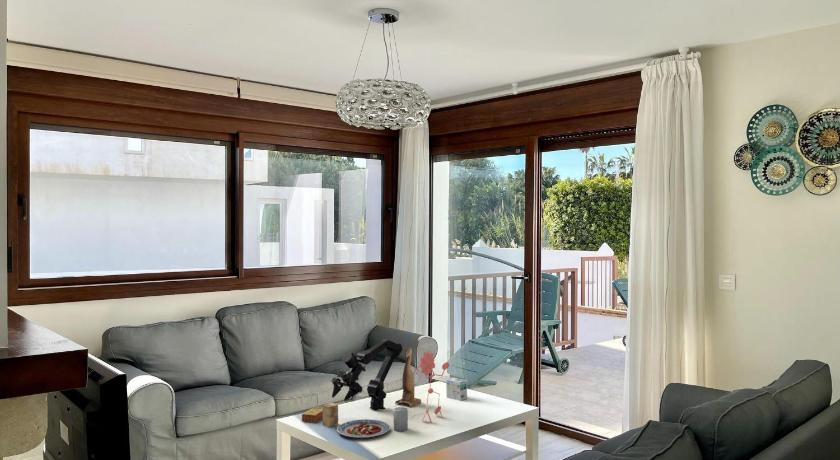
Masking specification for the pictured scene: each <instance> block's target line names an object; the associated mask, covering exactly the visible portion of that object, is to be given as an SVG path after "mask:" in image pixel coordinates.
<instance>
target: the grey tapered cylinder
mask: <svg viewBox="0 0 840 460" xmlns="http://www.w3.org/2000/svg"><path fill="white" fill-rule="evenodd" d="M408 413H409V410H408V408H407V407H403V406H402V407H400V406H398V407H395V408H393V431H394V432H398V433H399V432H400V433H403V432H407V431H408V430H409V420H408V419H409V418H408V416H409V414H408Z"/></svg>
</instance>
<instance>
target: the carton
mask: <svg viewBox="0 0 840 460" xmlns="http://www.w3.org/2000/svg"><path fill="white" fill-rule="evenodd" d="M321 420H323V405H315V406H313V407H312V408H310V409H308V410H307V411H305V412H303V413H301V422H305V423H313V422H314V423H315V424H316V423H318V422H319V421H321Z"/></svg>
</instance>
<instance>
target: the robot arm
mask: <svg viewBox="0 0 840 460" xmlns="http://www.w3.org/2000/svg"><path fill="white" fill-rule="evenodd" d="M384 350H385V354H386V355H385V358H384V360H383V362H382V364H381V366H380V368H379V370H378V372H377V374H376V375H375V378H374V379H370V380H369V383H368V385H367V386H366V392H367V394H368V397H369V398H370V407H369V409H370V410H372V411H375V412H376V411H382V410H386V407H385V406H384V405H385V403H384V402H385V401H384V400H385V399H386V397H387V393H386V392H385V391H384V389H385V383H384V382H385V381H386V380H385V379H386V378H387V376H388V374H389V372H390V369H391V367H392V365H393V363H394V361H395V359H396V358H398V357H399V356H400V355H401V353H402V351H403V345H402V343H398V342H394V341H392V340H390V339H386V338H383V339H381V340H380V341H378V342H377V343H376V344H373V346H371V347H370V348H368V349H367V350H362V351H359V352H358V353H356V355H355V354H354V353H353V352H352V351H349V352H348V353H346V354H345V355H343V356H342V358H341V362H342V363H343V364H344V365H345V366H346V367H347V368H348V369H349V370H347V371H346V372H345V371H341V370H338V371H337V373H336V374H337V375H336V377H332V379H331V383H332V385H333V390H332V393H331V394H332V395H331V397H332V399H334V398H335V397H336V396H337V395H338V394H339V392H340V391H342V388H343V387H347V388H348V391H347V392H346V394H345V396H344V398H343V401H344V402H347V401H348V400H349V399H351V398H352V397H354V396H356V395H358V394H361V393H362V392H363V387H362V385H361V384H360V383H359V382H357V381H359V380H360V378H359V376H360V375H361V373H362V372H366V365H369V364H370V363H371V362H372V361H373V359H374V357H376V356H377V355H378V354H380V353H381V352H383V351H384Z"/></svg>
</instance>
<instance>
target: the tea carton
mask: <svg viewBox="0 0 840 460" xmlns="http://www.w3.org/2000/svg"><path fill="white" fill-rule="evenodd" d="M322 406H323V418H322V426H325V427H328V428H331V427H334V426H337V425H339V404H338V403H333V402H329V403H326V404H323V405H322Z"/></svg>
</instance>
